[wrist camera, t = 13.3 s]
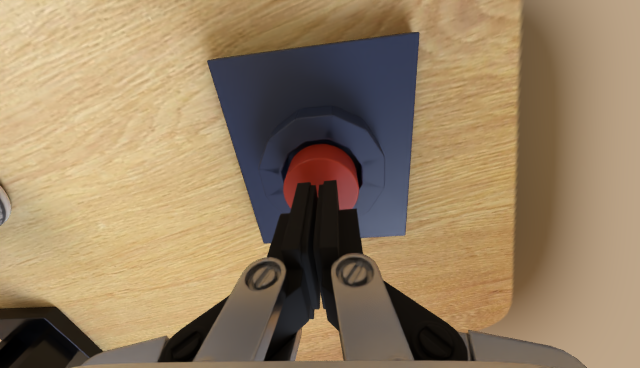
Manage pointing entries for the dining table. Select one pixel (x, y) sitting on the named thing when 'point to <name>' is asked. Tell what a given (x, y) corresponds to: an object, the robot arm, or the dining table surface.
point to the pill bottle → (4, 206)
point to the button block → (325, 121)
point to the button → (323, 173)
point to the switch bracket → (42, 339)
